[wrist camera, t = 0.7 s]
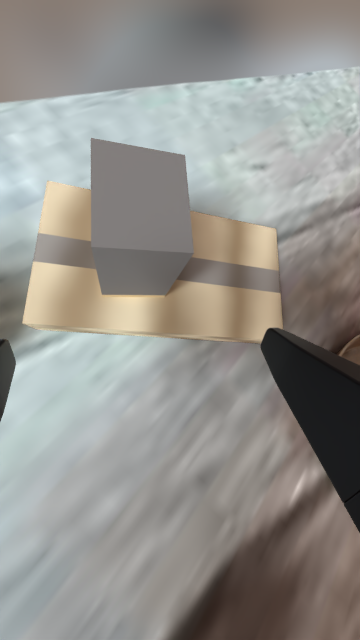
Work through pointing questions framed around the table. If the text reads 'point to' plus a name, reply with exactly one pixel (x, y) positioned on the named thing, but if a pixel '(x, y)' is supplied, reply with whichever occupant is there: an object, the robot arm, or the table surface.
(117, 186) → the block
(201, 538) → the table surface
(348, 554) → the table surface
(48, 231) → the birch board
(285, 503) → the table surface
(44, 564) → the table surface
